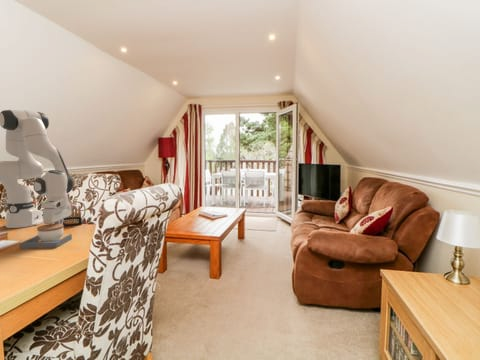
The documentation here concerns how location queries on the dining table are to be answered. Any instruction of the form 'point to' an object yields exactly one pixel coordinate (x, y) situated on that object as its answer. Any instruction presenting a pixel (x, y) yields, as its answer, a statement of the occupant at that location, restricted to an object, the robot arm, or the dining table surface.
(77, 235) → the dining table surface
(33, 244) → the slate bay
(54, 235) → the lidded jar
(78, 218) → the ammunition clip
